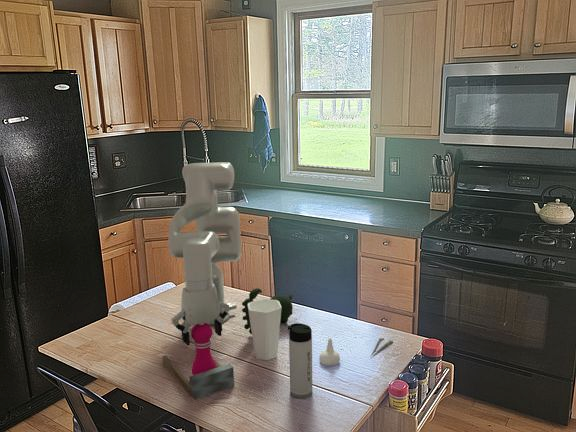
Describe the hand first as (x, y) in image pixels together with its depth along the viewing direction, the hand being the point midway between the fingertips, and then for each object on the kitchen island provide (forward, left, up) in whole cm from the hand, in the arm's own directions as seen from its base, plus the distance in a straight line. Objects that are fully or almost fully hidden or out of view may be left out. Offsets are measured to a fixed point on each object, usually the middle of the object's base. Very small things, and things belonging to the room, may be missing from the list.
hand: (202, 338), depth 146 cm
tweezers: (-54, +15, -15) cm, 57 cm away
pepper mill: (0, 0, -14) cm, 14 cm away
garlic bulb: (-37, +12, -14) cm, 41 cm away
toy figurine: (-34, -19, -14) cm, 41 cm away
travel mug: (-20, +20, -14) cm, 32 cm away
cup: (-23, -4, -14) cm, 27 cm away
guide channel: (0, -6, -14) cm, 15 cm away
